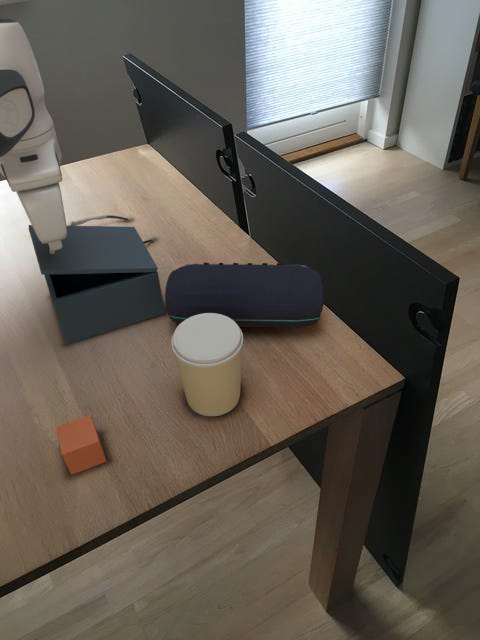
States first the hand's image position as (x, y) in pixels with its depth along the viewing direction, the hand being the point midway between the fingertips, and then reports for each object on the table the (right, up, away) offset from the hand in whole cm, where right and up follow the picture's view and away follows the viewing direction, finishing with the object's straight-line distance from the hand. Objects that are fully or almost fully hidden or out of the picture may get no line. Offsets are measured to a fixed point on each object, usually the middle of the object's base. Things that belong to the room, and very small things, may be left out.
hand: (52, 237), depth 82 cm
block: (+8, -30, -11) cm, 33 cm away
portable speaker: (+29, -13, +8) cm, 33 cm away
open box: (+5, -10, +12) cm, 17 cm away
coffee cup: (+25, -24, -4) cm, 34 cm away
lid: (+5, -1, +4) cm, 7 cm away
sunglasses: (+2, +3, +27) cm, 27 cm away
